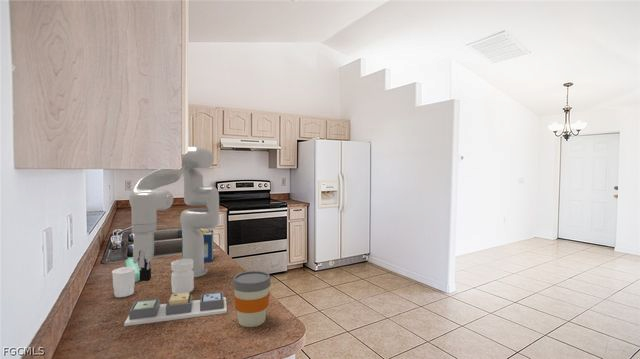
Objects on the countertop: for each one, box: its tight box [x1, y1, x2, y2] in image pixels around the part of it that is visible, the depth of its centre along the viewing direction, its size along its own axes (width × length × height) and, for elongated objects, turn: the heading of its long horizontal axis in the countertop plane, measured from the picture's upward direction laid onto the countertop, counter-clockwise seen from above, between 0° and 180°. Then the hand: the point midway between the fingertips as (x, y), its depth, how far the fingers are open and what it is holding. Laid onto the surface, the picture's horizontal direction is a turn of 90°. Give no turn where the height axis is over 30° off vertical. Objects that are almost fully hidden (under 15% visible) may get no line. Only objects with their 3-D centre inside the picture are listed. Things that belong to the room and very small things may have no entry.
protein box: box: [181, 229, 214, 263], centre depth 175 cm, size 10×15×16 cm
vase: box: [170, 258, 195, 294], centre depth 133 cm, size 9×9×12 cm
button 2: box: [169, 292, 190, 306], centre depth 114 cm, size 6×6×3 cm
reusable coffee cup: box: [232, 270, 271, 328], centre depth 108 cm, size 12×13×15 cm
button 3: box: [203, 293, 221, 302], centre depth 117 cm, size 6×6×3 cm
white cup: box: [111, 266, 136, 298], centre depth 128 cm, size 8×8×10 cm
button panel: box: [123, 291, 228, 327], centre depth 114 cm, size 12×32×4 cm, turn 108°
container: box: [124, 256, 140, 283], centre depth 151 cm, size 6×6×25 cm
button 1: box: [133, 300, 156, 310], centre depth 110 cm, size 6×6×3 cm
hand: (145, 280), depth 110 cm, fingers closed
